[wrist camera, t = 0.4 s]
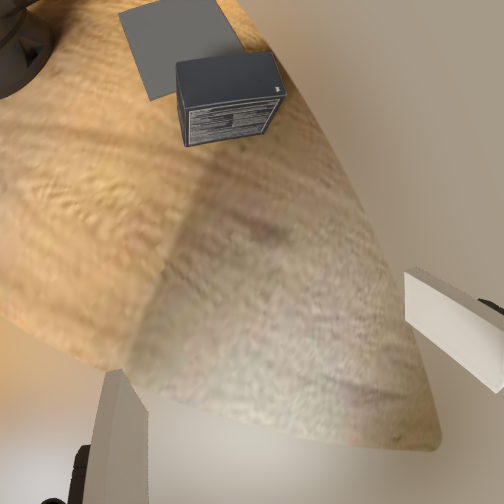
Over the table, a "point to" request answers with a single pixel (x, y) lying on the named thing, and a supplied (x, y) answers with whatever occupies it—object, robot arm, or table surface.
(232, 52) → the mat
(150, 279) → the table surface
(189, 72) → the small box
